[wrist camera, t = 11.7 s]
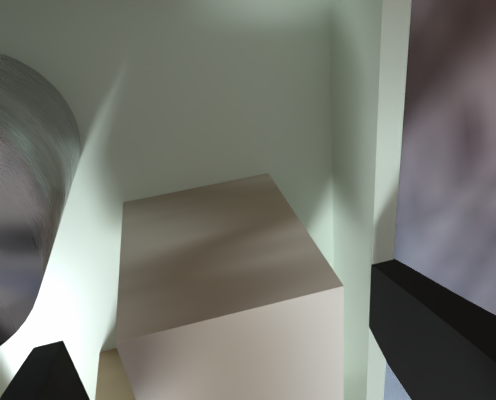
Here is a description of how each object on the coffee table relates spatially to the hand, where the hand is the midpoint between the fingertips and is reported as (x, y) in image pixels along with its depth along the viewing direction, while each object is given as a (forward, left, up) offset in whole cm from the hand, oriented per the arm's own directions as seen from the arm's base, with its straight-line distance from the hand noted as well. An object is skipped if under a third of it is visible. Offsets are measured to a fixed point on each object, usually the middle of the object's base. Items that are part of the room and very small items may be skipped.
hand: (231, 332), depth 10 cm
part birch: (0, 0, -3) cm, 3 cm away
